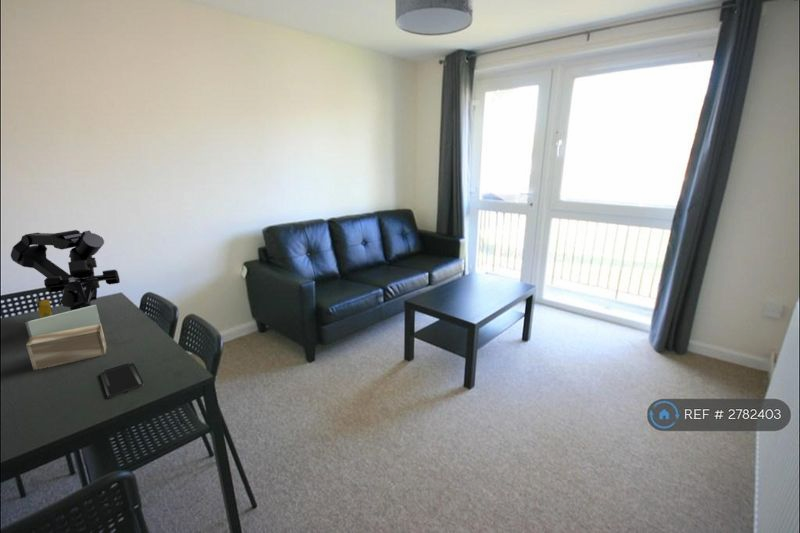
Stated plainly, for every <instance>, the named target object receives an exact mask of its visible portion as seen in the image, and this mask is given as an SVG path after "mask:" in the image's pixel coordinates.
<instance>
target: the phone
mask: <svg viewBox="0 0 800 533" xmlns="http://www.w3.org/2000/svg"><path fill="white" fill-rule="evenodd" d="M137 369H138V368H136V365H135V363H134V362H128V363H124V364H122V365H121V364H120V365H118V366H115V367H111V368H108V369H105V370H102V371H100V372H99V375H100V380H101V382H102V385H103V387H104V390H105V393H106V396H107V399H113V398H116V397H119V396H122V395H125V394H127V393H132V392H133V391H137V390H139V389H142V388H144V385H145V384H144V381H143V379H142V377H141V375H140V372H139V371H138V370H137Z"/></svg>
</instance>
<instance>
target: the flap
mask: <svg viewBox="0 0 800 533" xmlns="http://www.w3.org/2000/svg"><path fill="white" fill-rule="evenodd" d="M24 324H25V327H26V330H27V334H28V337H29V339H30V337H32V336H38V335H43V334H48V333H54V332H59V331H65V330H70V329H76V328H81V327H86V326H92V325H97V324H101V318H100V315H99V310H98V307H97V304H91V306H88V307H84V308H80V309H76V310H72V311H71V310H69V311H63V312H61V313H57V314H53V315H52V316H48V317H44V318H36V319H33V320H28V321H25V322H24ZM101 325H102V324H101Z"/></svg>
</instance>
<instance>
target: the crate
mask: <svg viewBox="0 0 800 533" xmlns="http://www.w3.org/2000/svg"><path fill="white" fill-rule="evenodd" d="M25 347H26V350H27V353H28V356H29V360H30V362H31V366H32V369H33V371H34V370H35V371H39V370H43V368H44V369H48V368H53V367H56V366H61V365H62V366H63V365H66V364H70V363H74V362H75V363H76V362H79V361H84V360H88V359H93V358H97V357H101V356H106V353H107V342H106V339H105V334H104V331H103V326H102V324H97V325H92V326H86V327H81V328H76V329H70V330H65V331H59V332H54V333H48V334H43V335H38V336H32V337H30V338H29V339H28V340H27V343H26V345H25ZM47 367H48V368H47ZM38 369H39V370H38Z"/></svg>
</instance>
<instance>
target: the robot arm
mask: <svg viewBox="0 0 800 533" xmlns="http://www.w3.org/2000/svg"><path fill="white" fill-rule="evenodd" d="M20 238H21V239H20V240H19V241H18V242H17V243H15V244H14V245H13V246H12V249H11V252H10V258H11V260H12V261H13V262H15V263H16V264H18V265H19V266H21V267H23V268H29V269H34V270H36V271H37V272H38V273H40V274H41V275H43V276H44V277H45V279H44V280H43V282H44V287H45V289H46V290H47V291H48V292H49V293H57V292H58V293H59V292H62V297H61V299H60V303H61V305H62V306H63V307H66V308H70V311H72V310H76V309H80V308H84V307H88V306H92V301H96V300H97V298H98V297H97V296H98V295H97V294H98V289H99V288H100V286H101V285H100V284H99V283H100V282H102V281H103V282H104V281H105V283H106V284H108V285H115V284H117V285H118V284H119V283H120V282H121V280H120V275H119V272H118V270H117V269H108V270H102V274H100V275H95V268H98V265H97V264H98V263H97V260H96V257H93V256H94V255H96V254H97V253H98V252H99V250H100V249H101V248H102V247H103V246H104V244H105V240H104V238H103V237H102V236H100V235H99V234H96V233H93V232H91V230H84V231H82V232H81V231H80V230H78V229H74V230H68V231H62V232H61V231H60V232H56V233H48V232H46V233H45V232H42V233H41V232H33V233H27V234H24V235H22V236H21V237H20ZM47 246H53V247H54V248H55V249H57V250H67V249H70V251H69V256H68V257H69V258H70V261H68V263H67V264H68V270H69V271H68V272H69V273H68V272H66V271H65V270H64V269H63V268H61V267H60V266H58V265H57V264H55V263H54V262H52V261H51V260H49V259H48V258H47V251H48V247H47Z"/></svg>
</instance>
